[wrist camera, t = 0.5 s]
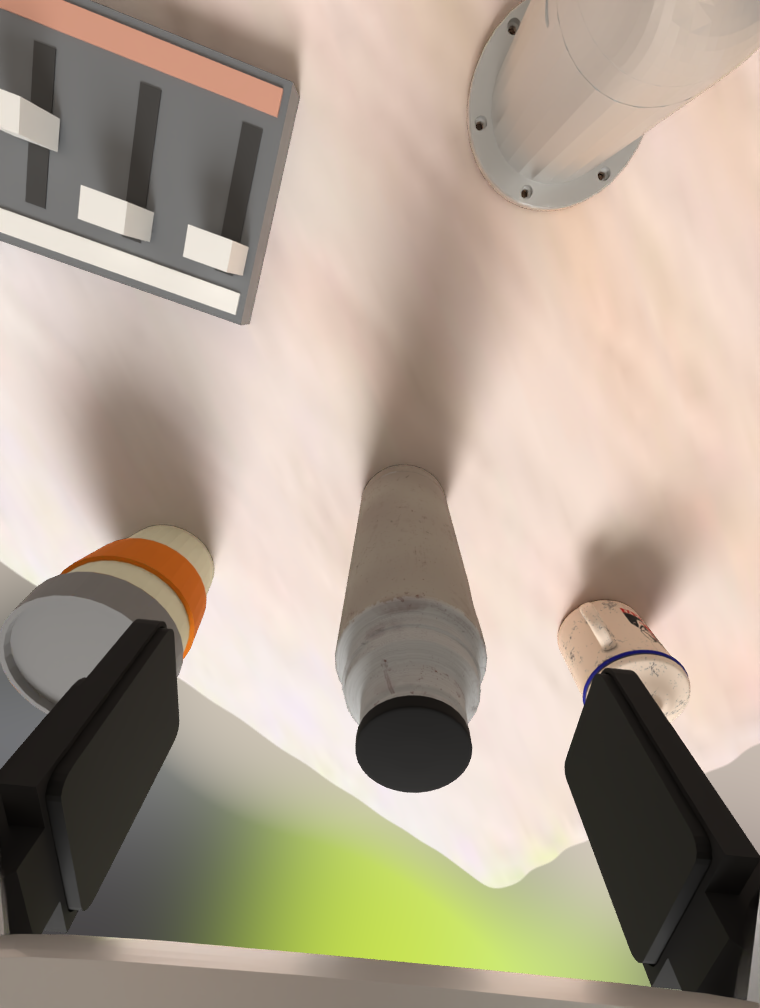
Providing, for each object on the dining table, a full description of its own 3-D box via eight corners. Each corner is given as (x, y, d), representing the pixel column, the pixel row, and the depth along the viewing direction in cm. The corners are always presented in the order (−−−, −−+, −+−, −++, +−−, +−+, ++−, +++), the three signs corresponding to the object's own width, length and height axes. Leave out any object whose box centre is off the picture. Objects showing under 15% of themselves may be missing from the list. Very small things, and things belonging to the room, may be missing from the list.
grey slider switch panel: (-64, -49, 32) (-172, -134, 26) (299, 97, 35) (279, 51, 29) (-62, 214, 38) (-151, 196, 32) (249, 324, 41) (223, 326, 34)
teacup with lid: (656, 645, 51) (726, 735, 41) (575, 680, 53) (621, 775, 43) (612, 559, 48) (676, 632, 37) (527, 600, 50) (564, 681, 39)
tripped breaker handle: (15, 101, 33) (-31, 77, 29) (60, 118, 33) (20, 96, 30) (13, 135, 34) (-31, 115, 30) (57, 152, 34) (18, 134, 30)
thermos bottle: (454, 530, 47) (528, 805, 21) (375, 551, 48) (353, 836, 22) (433, 454, 44) (489, 661, 18) (350, 477, 45) (290, 705, 19)
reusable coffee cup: (220, 630, 52) (157, 747, 38) (102, 599, 51) (-7, 708, 37) (242, 528, 48) (179, 619, 34) (113, 492, 47) (-7, 570, 33)
